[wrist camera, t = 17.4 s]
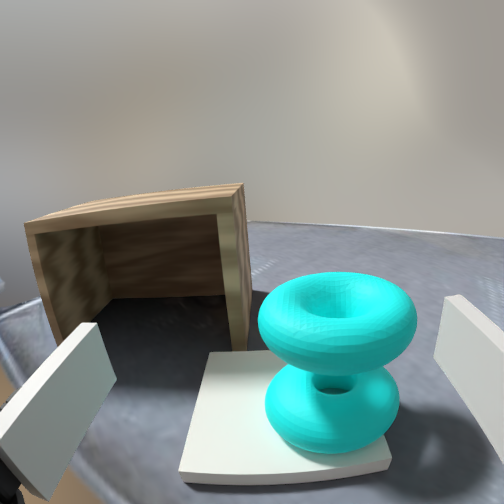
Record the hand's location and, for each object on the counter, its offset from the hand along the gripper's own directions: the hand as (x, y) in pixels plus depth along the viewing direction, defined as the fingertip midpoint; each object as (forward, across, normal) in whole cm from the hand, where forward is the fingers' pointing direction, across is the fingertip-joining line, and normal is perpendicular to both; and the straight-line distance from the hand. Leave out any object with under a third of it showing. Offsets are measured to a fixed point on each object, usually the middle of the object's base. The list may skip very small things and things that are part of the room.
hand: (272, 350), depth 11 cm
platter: (+10, 0, -13) cm, 16 cm away
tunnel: (+28, -16, -13) cm, 35 cm away
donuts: (+8, +4, -12) cm, 15 cm away
